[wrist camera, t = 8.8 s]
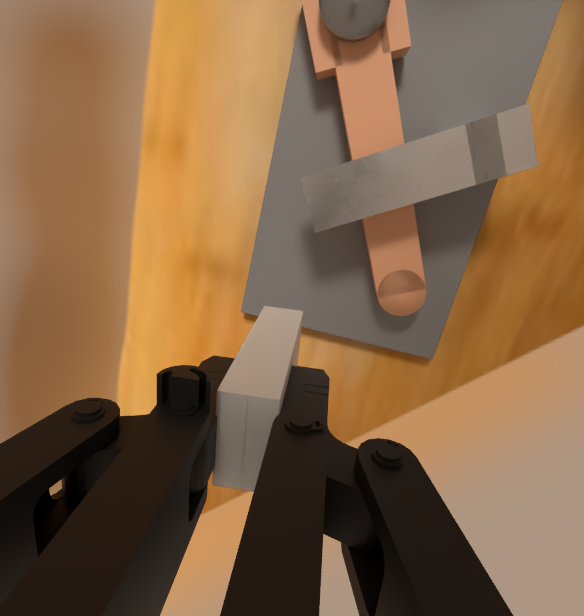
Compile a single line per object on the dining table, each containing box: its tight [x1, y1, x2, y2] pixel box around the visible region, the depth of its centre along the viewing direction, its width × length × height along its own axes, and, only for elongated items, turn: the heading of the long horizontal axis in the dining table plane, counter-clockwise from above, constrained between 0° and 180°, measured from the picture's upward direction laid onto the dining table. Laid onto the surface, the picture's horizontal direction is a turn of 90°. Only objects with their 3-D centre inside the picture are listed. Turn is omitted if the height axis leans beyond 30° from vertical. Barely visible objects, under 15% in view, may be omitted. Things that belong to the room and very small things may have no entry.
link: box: [302, 0, 427, 316], centre depth 25 cm, size 20×5×2 cm, turn 13°
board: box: [241, 0, 563, 359], centre depth 27 cm, size 26×14×1 cm, turn 167°
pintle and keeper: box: [300, 0, 538, 232], centre depth 24 cm, size 13×14×5 cm
